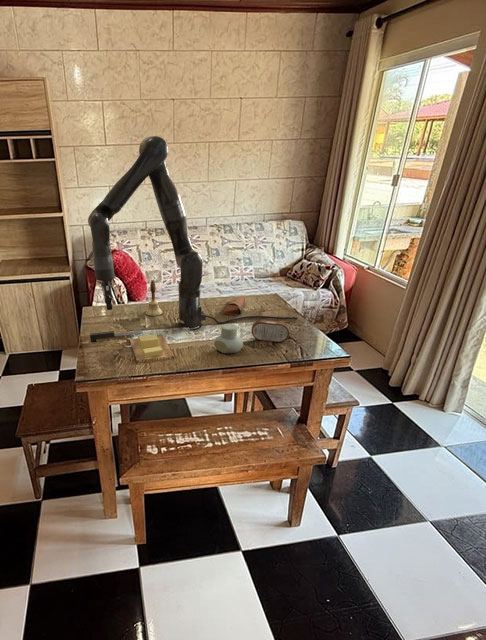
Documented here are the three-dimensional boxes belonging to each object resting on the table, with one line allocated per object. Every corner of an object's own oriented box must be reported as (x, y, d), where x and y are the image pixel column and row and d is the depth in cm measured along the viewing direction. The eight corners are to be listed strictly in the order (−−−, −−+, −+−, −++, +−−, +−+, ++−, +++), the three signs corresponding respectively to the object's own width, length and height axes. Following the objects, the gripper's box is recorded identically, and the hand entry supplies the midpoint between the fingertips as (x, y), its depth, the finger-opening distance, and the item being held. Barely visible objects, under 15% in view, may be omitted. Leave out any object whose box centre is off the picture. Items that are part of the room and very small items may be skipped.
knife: (90, 342, 169) (90, 335, 167) (90, 340, 171) (89, 333, 169) (143, 336, 173) (142, 329, 171) (142, 334, 174) (141, 327, 173)
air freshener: (210, 348, 160) (211, 325, 155) (225, 343, 164) (226, 319, 159) (230, 358, 152) (232, 333, 147) (246, 352, 156) (247, 327, 151)
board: (162, 337, 170) (162, 335, 170) (173, 358, 153) (173, 355, 153) (129, 341, 168) (129, 339, 168) (137, 363, 151) (136, 360, 150)
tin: (289, 341, 163) (291, 321, 159) (288, 344, 161) (291, 324, 157) (251, 337, 168) (252, 318, 164) (250, 340, 165) (251, 320, 161)
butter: (156, 342, 164) (155, 334, 162) (158, 347, 160) (158, 339, 158) (139, 344, 163) (138, 336, 161) (141, 349, 159) (140, 341, 157)
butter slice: (160, 346, 156) (162, 349, 153) (160, 350, 157) (162, 354, 154) (142, 349, 154) (144, 352, 151) (142, 353, 155) (145, 357, 152)
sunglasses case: (228, 301, 206) (235, 290, 203) (239, 308, 206) (247, 298, 203) (222, 313, 191) (230, 302, 188) (235, 321, 191) (243, 310, 188)
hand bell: (144, 311, 199) (142, 278, 191) (160, 309, 201) (159, 277, 193) (147, 316, 192) (145, 283, 184) (164, 314, 194) (163, 281, 186)
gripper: (115, 270, 153) (119, 310, 161) (111, 261, 165) (115, 299, 173) (95, 272, 152) (100, 313, 160) (93, 263, 164) (98, 301, 172)
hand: (108, 306), depth 166 cm, fingers open, 8 cm apart
